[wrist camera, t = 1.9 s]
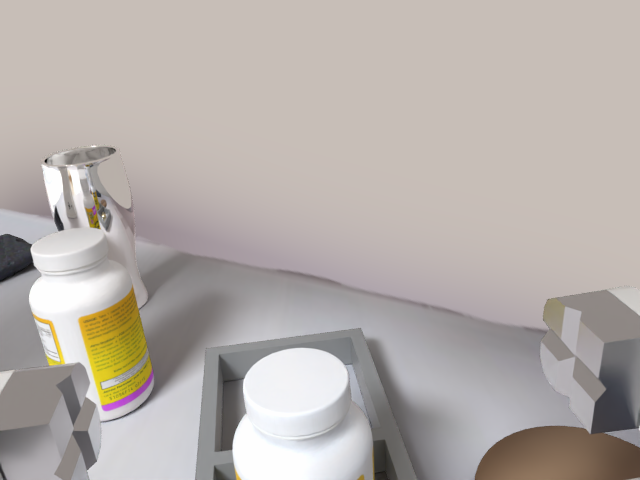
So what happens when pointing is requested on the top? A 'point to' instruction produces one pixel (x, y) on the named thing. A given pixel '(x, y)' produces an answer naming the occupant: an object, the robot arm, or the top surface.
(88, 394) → the supplement bottle
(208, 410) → the parts tray
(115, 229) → the shiny silver flared piece
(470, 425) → the top surface
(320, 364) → the pill bottle
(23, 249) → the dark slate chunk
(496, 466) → the walnut coaster
